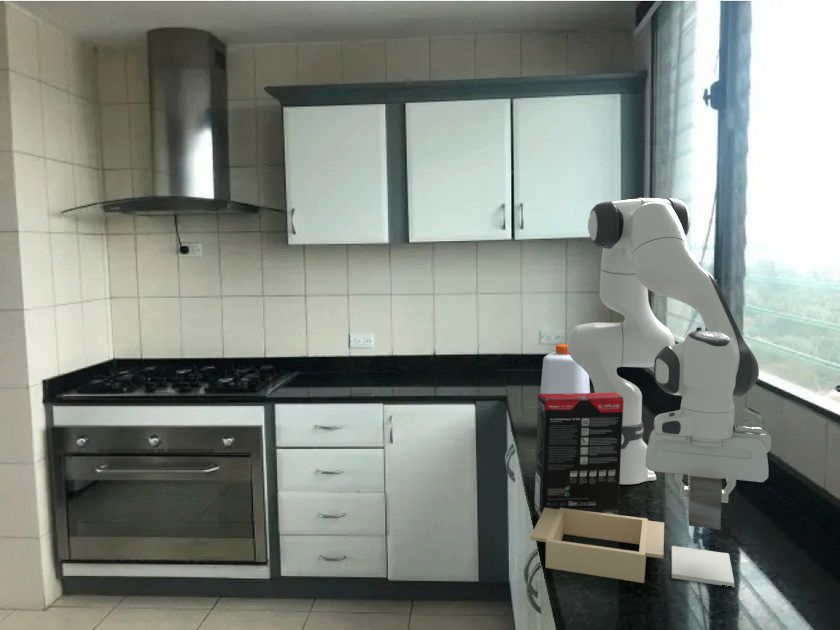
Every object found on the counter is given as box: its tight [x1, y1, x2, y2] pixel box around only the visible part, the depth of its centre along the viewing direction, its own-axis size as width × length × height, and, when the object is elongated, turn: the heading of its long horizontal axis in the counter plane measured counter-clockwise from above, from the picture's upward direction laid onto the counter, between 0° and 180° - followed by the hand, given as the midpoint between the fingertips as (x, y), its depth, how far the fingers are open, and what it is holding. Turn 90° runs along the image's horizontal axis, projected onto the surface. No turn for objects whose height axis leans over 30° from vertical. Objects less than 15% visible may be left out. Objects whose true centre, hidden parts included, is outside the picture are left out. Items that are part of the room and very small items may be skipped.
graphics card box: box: [533, 392, 624, 520], centre depth 146 cm, size 17×7×27 cm, turn 96°
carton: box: [530, 508, 665, 584], centre depth 130 cm, size 17×23×5 cm
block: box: [687, 474, 723, 531], centre depth 124 cm, size 11×5×8 cm, turn 160°
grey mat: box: [671, 545, 735, 588], centre depth 125 cm, size 12×10×1 cm
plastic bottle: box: [539, 343, 591, 394], centre depth 212 cm, size 15×15×28 cm
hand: (703, 499), depth 124 cm, fingers closed on block, 5 cm apart
